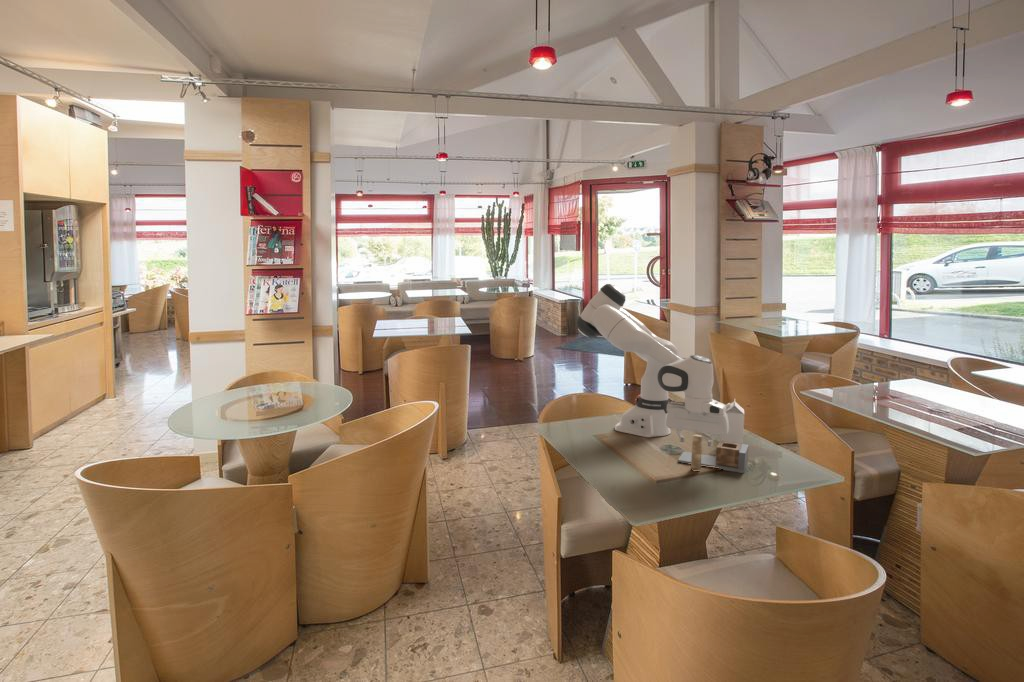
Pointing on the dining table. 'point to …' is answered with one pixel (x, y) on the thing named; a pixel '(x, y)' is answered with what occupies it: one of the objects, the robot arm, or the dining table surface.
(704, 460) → the grey l-shaped piece
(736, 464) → the block
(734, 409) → the milk carton
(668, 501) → the dining table surface
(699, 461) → the dowel
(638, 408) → the robot arm
